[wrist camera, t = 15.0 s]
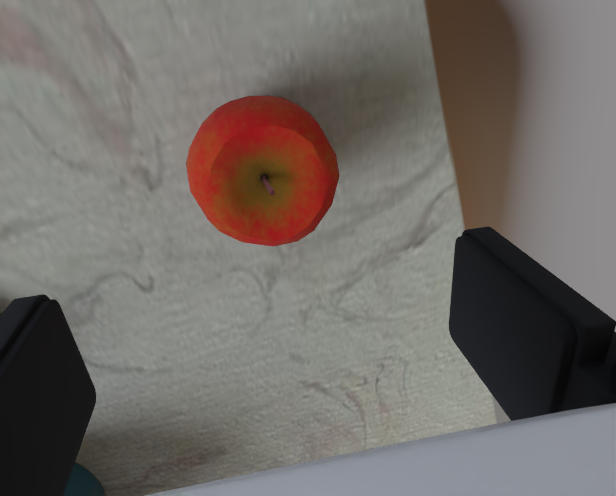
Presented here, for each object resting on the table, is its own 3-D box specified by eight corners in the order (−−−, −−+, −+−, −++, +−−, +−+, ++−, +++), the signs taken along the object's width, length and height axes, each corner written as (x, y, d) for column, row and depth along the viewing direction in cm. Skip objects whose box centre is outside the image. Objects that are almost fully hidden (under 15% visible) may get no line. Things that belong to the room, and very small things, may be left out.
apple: (176, 166, 23) (157, 222, 17) (228, 56, 21) (229, 70, 15) (280, 215, 25) (298, 282, 19) (335, 120, 23) (377, 157, 17)
